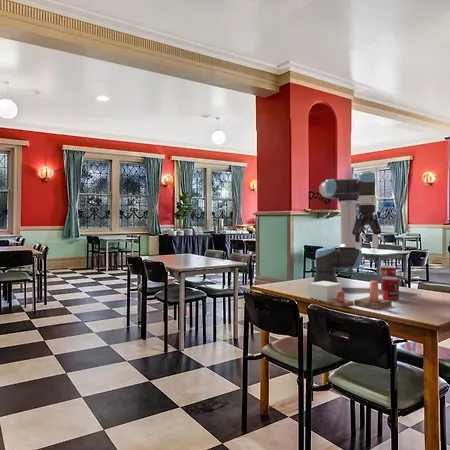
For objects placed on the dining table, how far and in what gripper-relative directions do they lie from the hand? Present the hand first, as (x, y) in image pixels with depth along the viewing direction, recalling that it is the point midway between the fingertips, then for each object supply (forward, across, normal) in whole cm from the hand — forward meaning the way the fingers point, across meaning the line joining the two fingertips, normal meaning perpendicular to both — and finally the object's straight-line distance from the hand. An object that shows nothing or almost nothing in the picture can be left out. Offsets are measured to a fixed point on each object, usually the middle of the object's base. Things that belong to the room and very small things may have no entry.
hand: (367, 248), depth 193 cm
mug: (+27, +37, +11) cm, 47 cm away
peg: (+27, -5, -7) cm, 28 cm away
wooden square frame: (+27, -3, -5) cm, 27 cm away
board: (+27, -12, +7) cm, 30 cm away
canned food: (+27, +17, -2) cm, 32 cm away
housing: (+27, -8, +19) cm, 34 cm away
